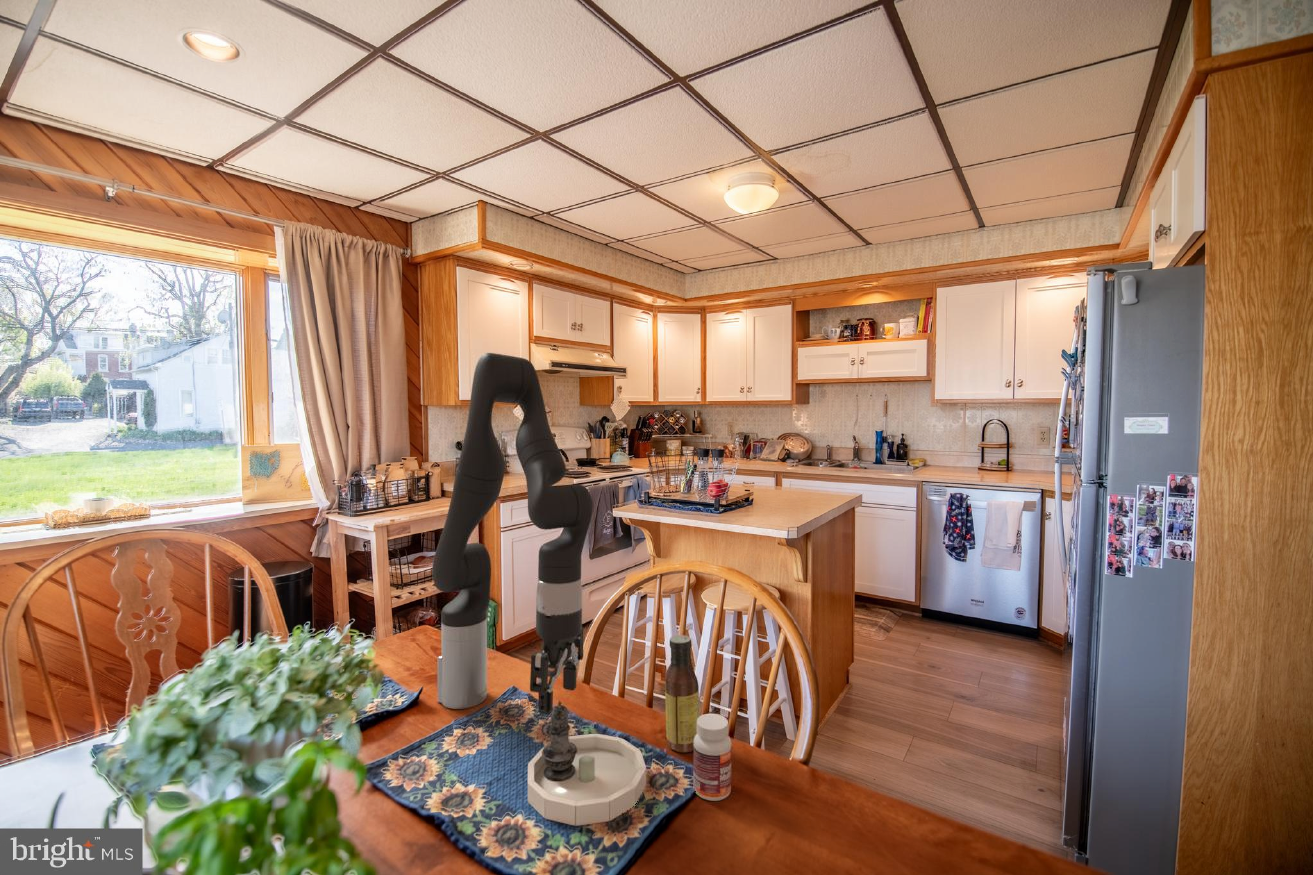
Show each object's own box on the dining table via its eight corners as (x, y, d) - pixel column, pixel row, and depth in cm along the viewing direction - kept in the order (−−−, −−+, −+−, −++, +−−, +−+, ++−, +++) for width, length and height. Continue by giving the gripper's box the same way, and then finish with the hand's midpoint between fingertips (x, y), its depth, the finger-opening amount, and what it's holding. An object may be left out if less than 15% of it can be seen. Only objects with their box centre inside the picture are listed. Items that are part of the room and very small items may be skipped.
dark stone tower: (580, 762, 98) (580, 693, 98) (572, 783, 92) (572, 710, 92) (547, 760, 99) (547, 691, 99) (537, 781, 93) (537, 708, 93)
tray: (504, 808, 88) (504, 783, 88) (561, 742, 106) (561, 721, 106) (619, 836, 82) (619, 809, 82) (658, 762, 100) (659, 739, 100)
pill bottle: (727, 805, 89) (728, 734, 89) (689, 797, 91) (689, 727, 90) (734, 782, 95) (734, 715, 95) (697, 775, 97) (698, 709, 96)
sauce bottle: (704, 740, 107) (705, 635, 107) (692, 758, 102) (693, 647, 101) (672, 732, 110) (673, 630, 109) (659, 749, 104) (660, 641, 104)
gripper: (559, 590, 103) (558, 678, 103) (516, 616, 89) (515, 717, 90) (597, 594, 100) (596, 685, 101) (559, 622, 87) (557, 726, 87)
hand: (558, 700), depth 95 cm, fingers open, 8 cm apart
